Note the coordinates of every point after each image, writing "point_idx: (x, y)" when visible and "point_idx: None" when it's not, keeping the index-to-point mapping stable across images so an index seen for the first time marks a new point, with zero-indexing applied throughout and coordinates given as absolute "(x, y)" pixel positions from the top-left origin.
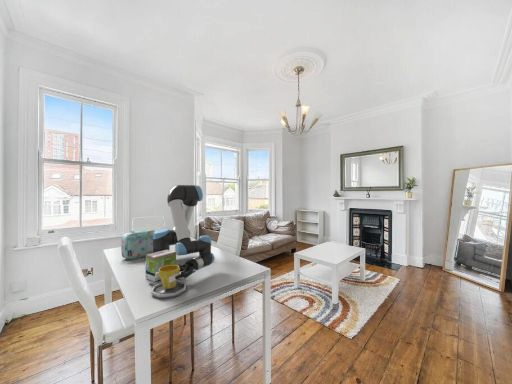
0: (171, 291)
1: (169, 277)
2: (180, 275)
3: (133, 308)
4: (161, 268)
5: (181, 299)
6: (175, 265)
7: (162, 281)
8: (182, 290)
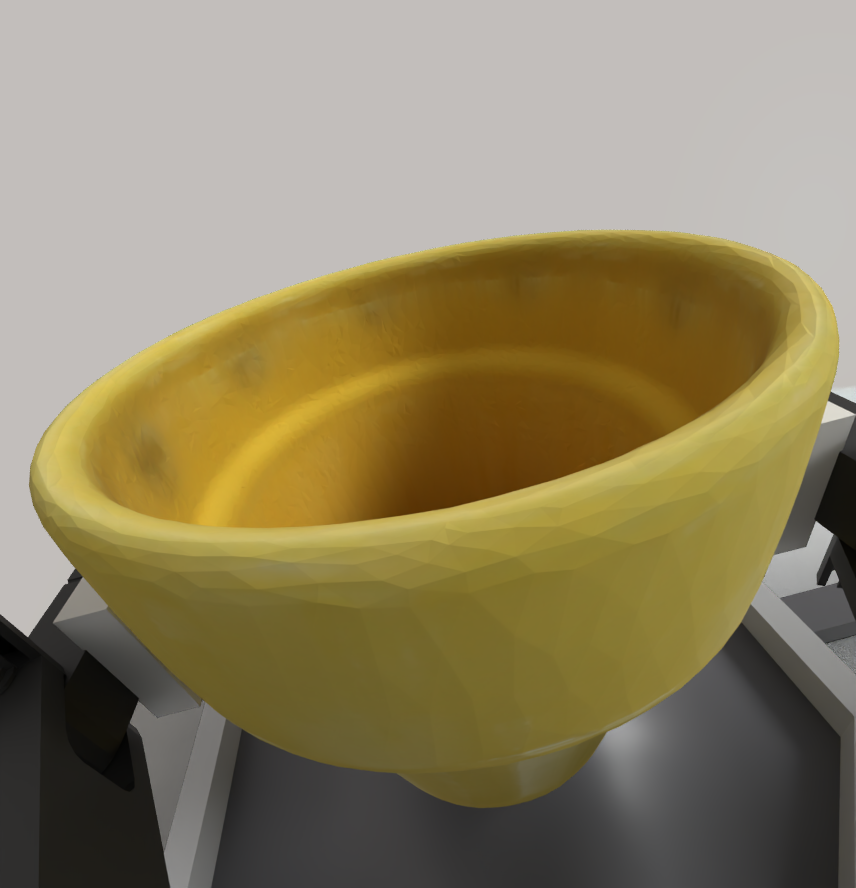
0: None
1: None
2: (46, 625)
3: None
4: (629, 264)
5: (136, 714)
6: (547, 483)
7: (436, 458)
8: (185, 814)
